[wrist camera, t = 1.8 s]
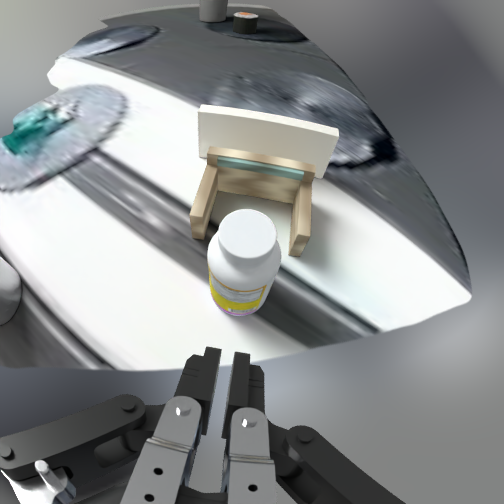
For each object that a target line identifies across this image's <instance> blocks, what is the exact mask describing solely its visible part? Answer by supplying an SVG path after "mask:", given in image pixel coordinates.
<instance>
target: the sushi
mask: <svg viewBox="0 0 504 504" xmlns="http://www.w3.org/2000/svg"><path fill="white" fill-rule="evenodd" d="M257 21H258V15H255V14H249V13H246V12H245V13H243V12H240V13H236V14H234V23H233V31H234V32H236V33H240V34H252V33H256V28H257Z"/></svg>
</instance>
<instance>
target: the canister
mask: <svg viewBox="0 0 504 504" xmlns="http://www.w3.org/2000/svg"><path fill="white" fill-rule="evenodd" d="M227 4H228V0H200V21H203V22H221V21H224V20H225V19H226V12H227Z"/></svg>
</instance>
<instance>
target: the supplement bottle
mask: <svg viewBox="0 0 504 504" xmlns="http://www.w3.org/2000/svg"><path fill="white" fill-rule="evenodd" d="M207 255H208V268H209V280H210V289H211V295H212V298H213V300H214V302H215V304H216V305H217V306H218V307H219V308H220V309H221V310H222V311H224V312H226V313H228V314H231V315H234V316H244V315H249V314H251V313H253V312H255V311H257V310H258V309H259V308H260V307H261V306H262V305H263V303H264V301H265V299H266V297H267V295H268V293H269V290H270V288H271V286H272V283H273V281H274V279H275V276H276V274H277V272H278V269H279V267H280V263H281V250H280V246H279V243H278V241H277V230H276V227H275V225H274V223H273V222H272V221H271V219H270V218H269V217H267V216H266V215H265V214H263V213H261V212H259V211H256V210H252V209H241V210H237V211H234V212H232V213H230V214H228V215H227V216H226V217H225V218H224V219H223V220H222V222H221V224H220V226H219V230H218V232H217V233H216V234H215V235H214V236H213V238H212V239H211V241H210V244H209V247H208V253H207Z"/></svg>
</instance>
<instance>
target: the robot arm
mask: <svg viewBox="0 0 504 504" xmlns="http://www.w3.org/2000/svg"><path fill="white" fill-rule="evenodd" d="M20 298H21V280H20V277H19V274H18V273H17V272H16V270H15V269H13V268H12V267H11V266H10V265H9V264H8V263H7V262H6V261H4V260H3V259H2V258H1V257H0V325H2V324H5V323H6V322H7V321H9V320H10V319H11V317H12V316H13V315H14V313H15V312H16V310H17V307H18V305H19V302H20ZM221 350H222V349H218V348H212V347H206V350H205V353H204V356H199V355H192V356H191V357H190V358H189V359H188V360H187V361H186V364H185V367H184V370H183V372H182V375H181V378H180V381H179V384H178V386H177V389H176V392H175V395H174V397H173V398H171V399H169V400H168V402H167V403H166V404H163V405H144V403H143V401H142V400H141V399H140V398H138V397H136V396H133V395H128V394H126V395H119V396H117V397H114V398H112V399H110V400H107V401H105V402H102V403H100V404H97V405H95V406H92V407H90V408H87V409H85V410H82V411H79V412H77V413H74V414H71V415H69V416H66V417H63V418H61V419H58V420H55V421H52V422H49V423H46V424H43V425H40V426H37V427H34V428H31V429H28V430H25V431H22V432H19V433H16V434H12V435H9V436H5V437H2V438H0V469H1V470H2V472H3V473H4V475H5V476H6V477H7V478H8V479H9V480H10V482H11V484H12V486H13V488H14V490H15V492H16V494H17V496H18V498H19V500H20V502H21V504H68V503H70V502H71V501H72V500H73V499H74V497H75V495H76V489H75V488H76V487H79V486H81V485H84V484H86V483H88V482H91V481H92V480H95V479H97V478H99V477H101V476H103V475H106V474H108V473H110V472H112V471H114V470H116V469H118V468H120V467H122V466H124V465H126V464H128V463H130V462H132V461H134V460H135V459H137V458H139V459H138V461H137V464H136V466H135V468H134V471H133V473H132V476H131V478H130V481H128V482H123V483H121V484H118V485H115V486H113V487H111V488H109V489H107V490H105V491H103V492H101V493H98V494H96V495H94V496H92V497H89V498H87V499H84V500H82V501H80V502H77V503H75V504H277V494H276V493H277V492H276V482H277V483H278V484H279V485H280V486H281V487H282V488H283V489H284V490H285V491H286V492H287V493H288V494H289V495H290V497H292V499H294V501H295V502H296V503H297V504H406V503H404V502H403V501H401V500H400V499H399V498H397V497H396V496H394V495H393V494H392V493H390V492H389V491H388V490H386V489H385V488H384V487H383V486H381V485H380V484H378V483H377V482H376V481H375V480H373V479H372V478H371V477H370V476H368V475H367V474H366V473H364V472H363V471H362V470H361V469H360V468H358V467H357V466H356V465H355V464H354V463H352V462H351V461H350V460H349V459H348V458H346V457H345V456H344V455H343V454H342V453H340V452H339V451H338V450H337V449H336V448H335V447H334V446H332V445H331V444H330V443H329V442H328V441H327V440H326V439H325V438H323V437H322V436H321V435H320V434H319V433H318V432H317V431H316V430H314V429H312V428H310V427H307V426H295V427H292V428H290V429H289V430H287V429H284V428H281V427H278V426H276V425H274V424H272V423H271V422H270V421H269V420H268V419H267V417H266V415H265V410H264V408H265V405H264V372H263V371H262V369H261V367H260V366H256V365H250V354H247V353H241V352H235V354H234V359H233V365H232V370H231V375H230V381H229V387H228V395H227V402H226V409H225V416H224V423H223V431H222V438H224V439H226V446H225V451H224V459H223V470H222V483H221V491H220V493H201V492H199V491H196V490H194V489H191V488H189V487H188V486H189V481H190V476H191V472H192V468H193V464H194V460H195V456H196V452H197V447H198V445H199V442H200V438H201V435H206V433H207V429H208V423H209V417H210V413H211V407H212V403H213V397H214V393H215V387H216V382H217V376H218V370H219V364H220V357H221Z"/></svg>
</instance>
